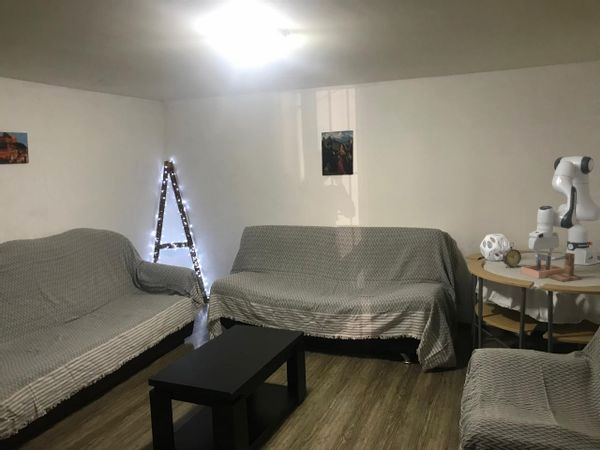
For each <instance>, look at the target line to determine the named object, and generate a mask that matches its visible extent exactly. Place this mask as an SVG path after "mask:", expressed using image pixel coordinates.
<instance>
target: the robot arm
mask: <svg viewBox="0 0 600 450" xmlns="http://www.w3.org/2000/svg"><path fill="white" fill-rule="evenodd" d="M594 162H595V161H594V160H593V158H592V157H591V156H587V155H586V156H585V155H584V156H580V155H573V156H560V157H558V158H556V159H555V161H554V164H553V168H554V173H553V177H552V179H551V186H552V188H553V190H554V191H556V192H557V193H558V194H561V195H564V196H565V197H567V200H566V203H561V204H560V205H559V206H558V208H557V210H554V208H553V206H551V205H543V206H540V207H538V210H537V216H536V223H537V226H536V230H533V231H532V232H529V233H528V234H529V235H528V236H529V239H528V249H529V250H531V251H533V252H534V255H535V258H537V257H539V255H540V254H541V253H539V251H541V250H549V251H547V255H548V256H553V252H554V250H555V249H556V248H559V246H560V239H559V233H557V232H556V231H555V232H554V227H555V228H563V229H566V230H567V234H568V235H567V242H566V247H567V248H565V249H566V250H565V253H573V254H575V260H574V265H580V266H592V265H596V264H600V259H598V254H597V252H596V251H594V250H593V249H592V248H591V246H593V241H588V239H589V238H588V237H589V231H588V228H586V227H585V226H583V225H582V224H581V222H580V221H582V222H596V221H598V220H600V205H598V204H597V203H595V201H594V200H593V199H592V196H591V192H590V191H591V190H590V173H591V172H592V170H593V169H594V165H595V163H594ZM563 262H564V263H565V259H563Z"/></svg>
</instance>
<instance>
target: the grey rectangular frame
mask: <svg viewBox="0 0 600 450" xmlns="http://www.w3.org/2000/svg"><path fill="white" fill-rule="evenodd" d="M539 254H540V255H539V257H536V259H535V261H536V263H535V265H536V271H546V270H550V266H551V265H552V264H551V263H552V260H551V258H552V255H550V256H549V255H548V254H543V253H539ZM542 261H543V262H545V264H546V270H545V269H541V264H542Z"/></svg>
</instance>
